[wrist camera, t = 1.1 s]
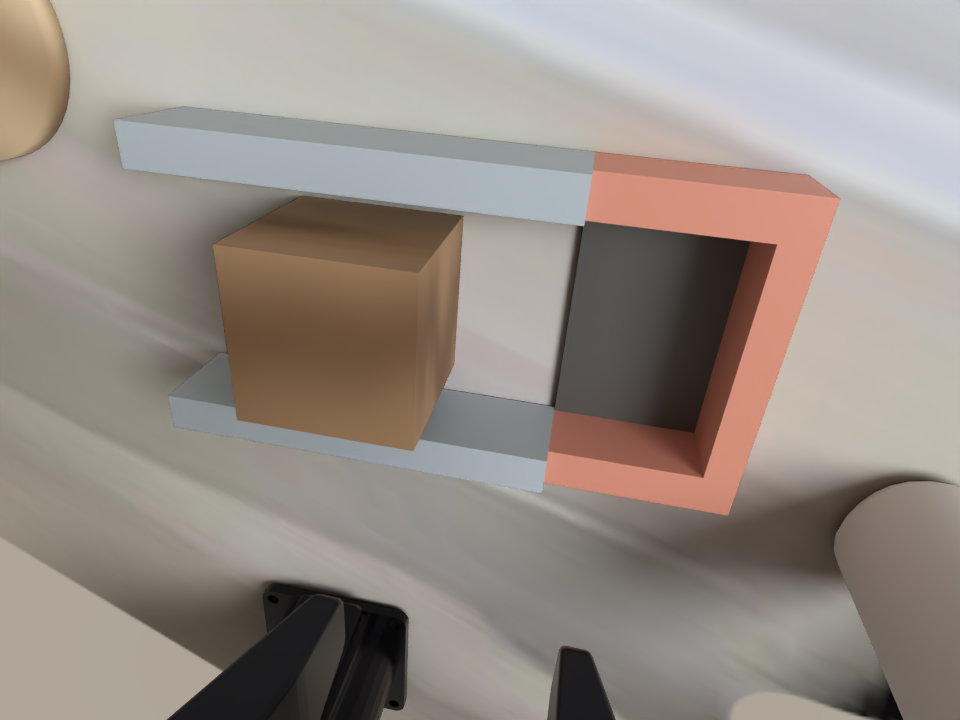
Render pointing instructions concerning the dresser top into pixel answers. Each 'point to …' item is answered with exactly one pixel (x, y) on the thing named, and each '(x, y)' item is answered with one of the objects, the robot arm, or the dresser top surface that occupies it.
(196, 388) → the channel
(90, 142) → the dresser top surface
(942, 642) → the beverage can
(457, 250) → the walnut block
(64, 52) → the cork coaster
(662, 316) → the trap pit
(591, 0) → the dresser top surface
